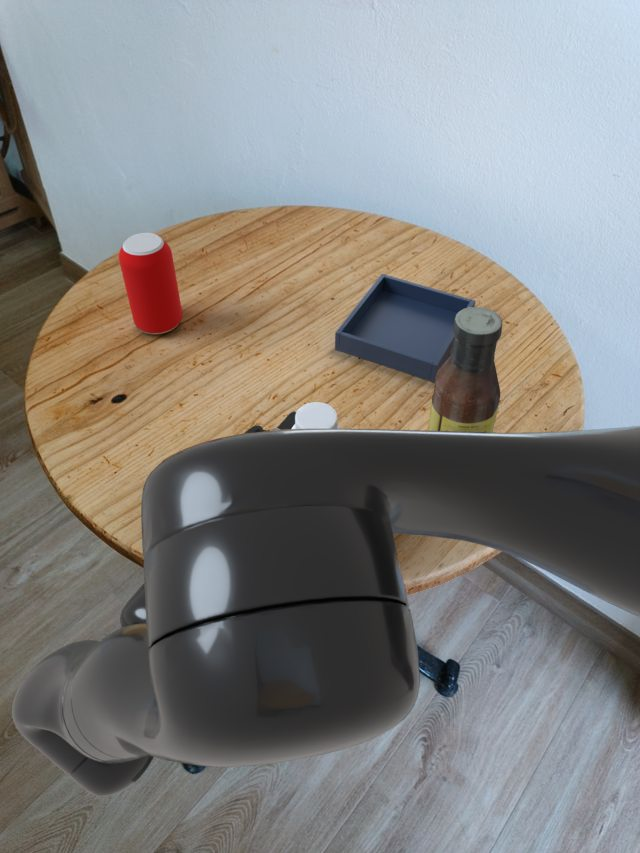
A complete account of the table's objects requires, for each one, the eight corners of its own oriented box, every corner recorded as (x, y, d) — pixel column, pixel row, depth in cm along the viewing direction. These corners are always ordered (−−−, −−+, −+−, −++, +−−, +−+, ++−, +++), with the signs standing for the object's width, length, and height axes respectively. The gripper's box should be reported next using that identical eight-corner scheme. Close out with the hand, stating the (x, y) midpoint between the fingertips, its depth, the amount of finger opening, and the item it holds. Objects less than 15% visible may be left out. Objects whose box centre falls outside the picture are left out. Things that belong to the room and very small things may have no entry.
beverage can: (131, 315, 90) (112, 233, 82) (178, 305, 92) (164, 224, 83) (139, 343, 86) (120, 261, 78) (188, 333, 88) (174, 251, 79)
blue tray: (472, 317, 90) (475, 300, 89) (434, 382, 82) (437, 365, 80) (380, 290, 95) (381, 273, 93) (334, 349, 86) (335, 332, 84)
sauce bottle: (494, 479, 72) (539, 329, 57) (448, 506, 69) (483, 356, 55) (451, 441, 75) (484, 290, 61) (407, 465, 73) (429, 314, 58)
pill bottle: (292, 461, 73) (290, 394, 66) (343, 463, 73) (346, 397, 66) (288, 501, 69) (285, 435, 62) (341, 504, 69) (344, 438, 62)
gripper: (299, 562, 53) (398, 427, 63) (156, 487, 58) (268, 373, 68) (301, 611, 59) (391, 479, 69) (169, 538, 64) (271, 425, 74)
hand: (329, 427), depth 68 cm, fingers closed on pill bottle, 5 cm apart
